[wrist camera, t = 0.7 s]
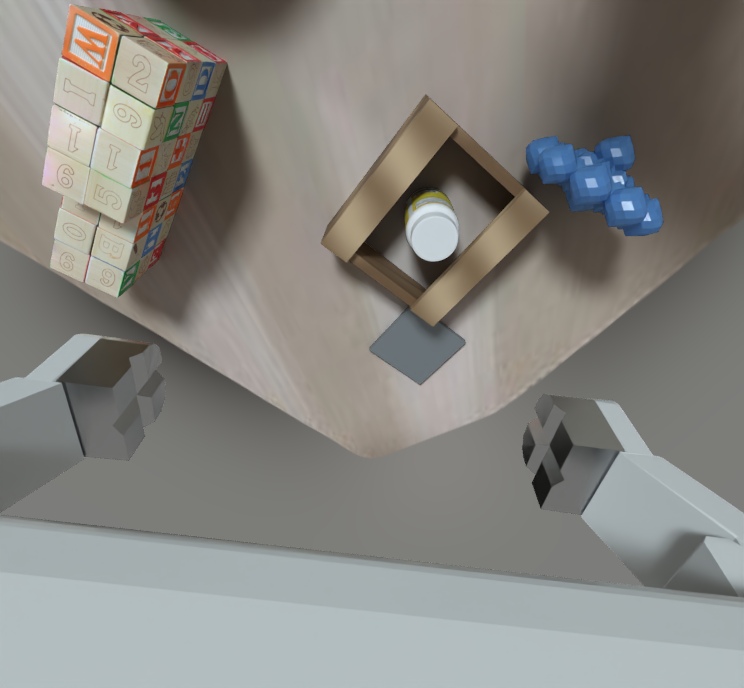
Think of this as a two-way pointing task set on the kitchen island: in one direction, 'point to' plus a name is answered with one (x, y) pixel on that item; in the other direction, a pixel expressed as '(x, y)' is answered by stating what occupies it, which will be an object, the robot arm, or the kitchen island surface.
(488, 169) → the crate
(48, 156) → the stack of blocks
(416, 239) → the supplement bottle
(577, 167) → the grapes
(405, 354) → the slate pad
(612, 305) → the kitchen island surface
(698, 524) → the robot arm
